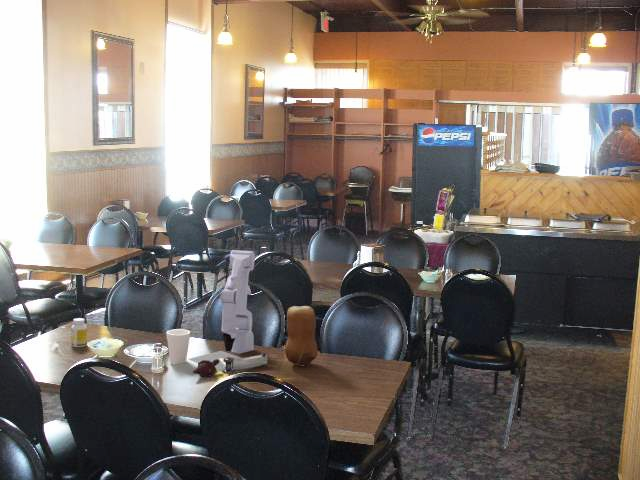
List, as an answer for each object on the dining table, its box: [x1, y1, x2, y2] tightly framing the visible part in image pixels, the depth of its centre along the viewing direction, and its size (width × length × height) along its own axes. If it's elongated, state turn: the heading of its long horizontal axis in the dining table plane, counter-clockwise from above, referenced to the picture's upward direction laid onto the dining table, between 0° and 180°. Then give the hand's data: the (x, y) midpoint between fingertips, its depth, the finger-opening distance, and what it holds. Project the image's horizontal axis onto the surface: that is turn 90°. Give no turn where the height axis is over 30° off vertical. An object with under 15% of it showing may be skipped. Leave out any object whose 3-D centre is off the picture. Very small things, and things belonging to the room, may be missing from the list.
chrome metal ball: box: [221, 363, 235, 374], centre depth 308 cm, size 5×5×4 cm
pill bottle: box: [70, 317, 88, 348], centre depth 336 cm, size 6×6×12 cm
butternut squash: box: [284, 305, 319, 367], centre depth 320 cm, size 14×13×25 cm
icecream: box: [192, 359, 219, 378], centre depth 302 cm, size 7×7×15 cm
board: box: [188, 350, 263, 375], centre depth 320 cm, size 18×26×1 cm
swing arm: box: [223, 351, 268, 370], centre depth 312 cm, size 20×4×4 cm, turn 127°
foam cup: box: [166, 328, 191, 366], centre depth 317 cm, size 10×9×13 cm
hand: (228, 350), depth 316 cm, fingers closed
